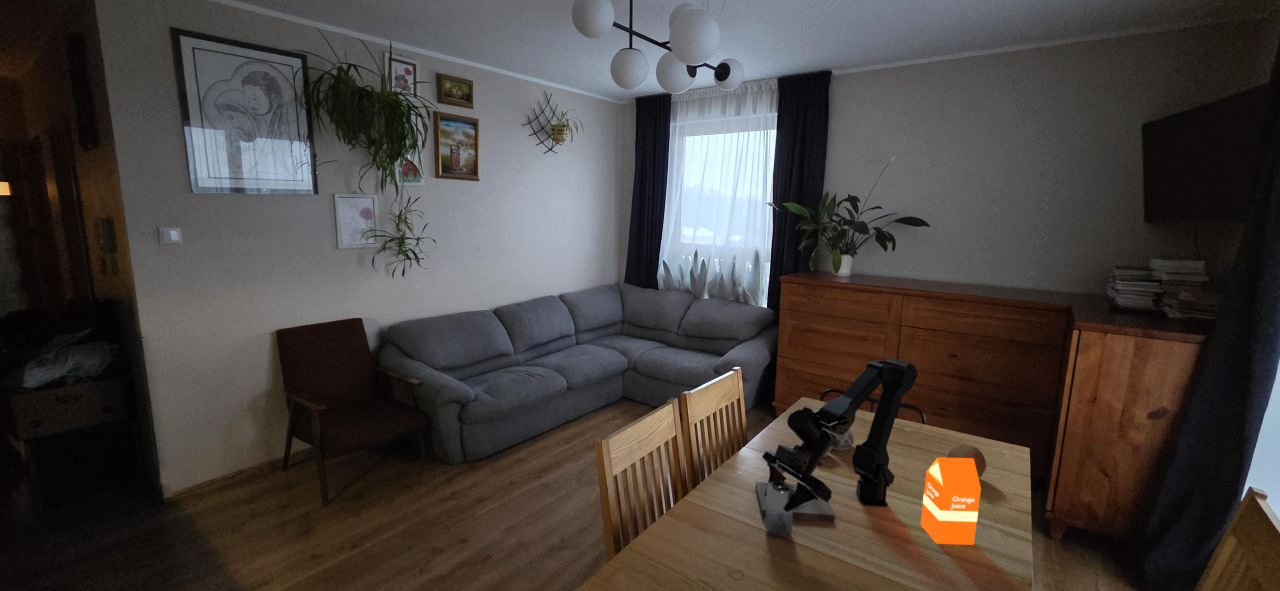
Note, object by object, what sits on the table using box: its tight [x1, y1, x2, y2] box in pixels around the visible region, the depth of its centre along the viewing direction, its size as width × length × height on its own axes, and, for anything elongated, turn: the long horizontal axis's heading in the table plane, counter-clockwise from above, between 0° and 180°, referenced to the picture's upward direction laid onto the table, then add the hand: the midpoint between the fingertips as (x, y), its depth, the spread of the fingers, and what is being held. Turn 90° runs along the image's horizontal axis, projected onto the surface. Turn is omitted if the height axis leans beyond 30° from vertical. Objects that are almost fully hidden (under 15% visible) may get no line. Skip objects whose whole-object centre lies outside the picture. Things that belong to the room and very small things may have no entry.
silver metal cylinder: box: [764, 481, 795, 536], centre depth 125 cm, size 6×6×11 cm
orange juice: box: [920, 456, 982, 546], centre depth 124 cm, size 8×9×20 cm
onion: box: [946, 443, 987, 479], centre depth 152 cm, size 10×10×10 cm
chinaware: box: [823, 427, 856, 458], centre depth 173 cm, size 28×17×17 cm, turn 174°
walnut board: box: [754, 481, 836, 523], centre depth 138 cm, size 18×14×2 cm
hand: (775, 503), depth 124 cm, fingers closed on silver metal cylinder, 6 cm apart
